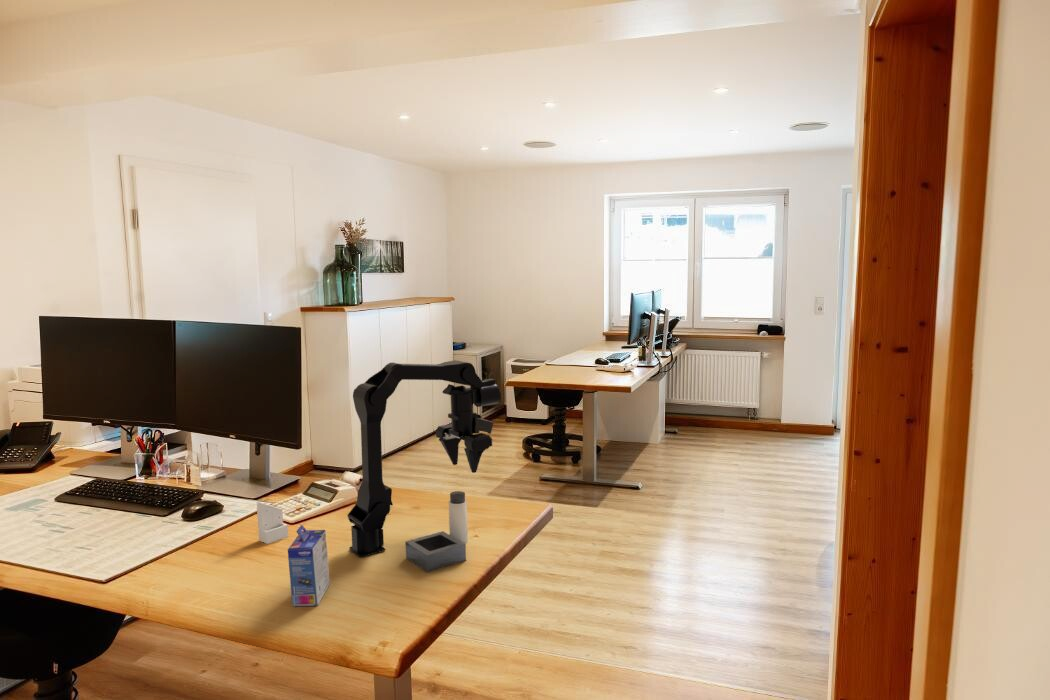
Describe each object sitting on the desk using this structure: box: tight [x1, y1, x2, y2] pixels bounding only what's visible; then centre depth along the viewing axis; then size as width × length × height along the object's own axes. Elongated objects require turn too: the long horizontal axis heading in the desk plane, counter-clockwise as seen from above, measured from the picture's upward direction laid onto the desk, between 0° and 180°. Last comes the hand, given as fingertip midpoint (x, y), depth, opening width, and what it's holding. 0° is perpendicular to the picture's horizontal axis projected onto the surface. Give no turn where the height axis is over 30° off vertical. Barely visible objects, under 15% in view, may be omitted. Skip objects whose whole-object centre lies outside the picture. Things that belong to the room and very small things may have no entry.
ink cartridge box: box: [287, 524, 330, 607], centre depth 141 cm, size 10×6×14 cm, turn 2°
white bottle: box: [448, 490, 468, 544], centre depth 168 cm, size 4×4×12 cm
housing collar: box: [405, 530, 467, 573], centre depth 158 cm, size 10×10×4 cm
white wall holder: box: [256, 501, 289, 545], centre depth 171 cm, size 4×10×9 cm, turn 143°
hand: (464, 468), depth 179 cm, fingers open, 9 cm apart
